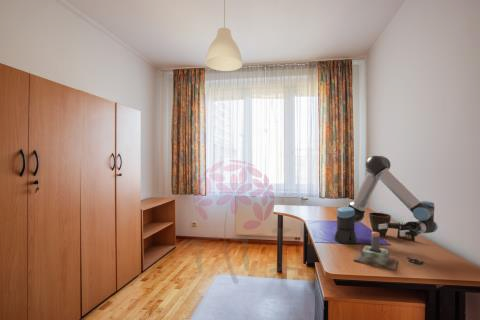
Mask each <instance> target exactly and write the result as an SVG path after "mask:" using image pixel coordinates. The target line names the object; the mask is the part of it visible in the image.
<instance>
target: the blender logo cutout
mask: <svg viewBox="0 0 480 320" xmlns="http://www.w3.org/2000/svg"><path fill="white" fill-rule="evenodd" d="M406 258H407V259H408V262H409V263H411V264H413V265H417V266H418V265H423V264H424V261H423V260H422V261H420V260H419V259H417V258H415V259H414V258H410V257H406Z"/></svg>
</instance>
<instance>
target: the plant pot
mask: <svg viewBox="0 0 480 320" xmlns="http://www.w3.org/2000/svg"><path fill="white" fill-rule="evenodd" d="M368 216H369V221H370V226H371V229H372V232H378V233H380V237H385V236H386V235H387V233H388V230H389V228H387V229H378V226H379V224H384V222H385V223H391V218H392V215H391V214H388V213H384V212H383V213H382V212H369V213H368Z"/></svg>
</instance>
